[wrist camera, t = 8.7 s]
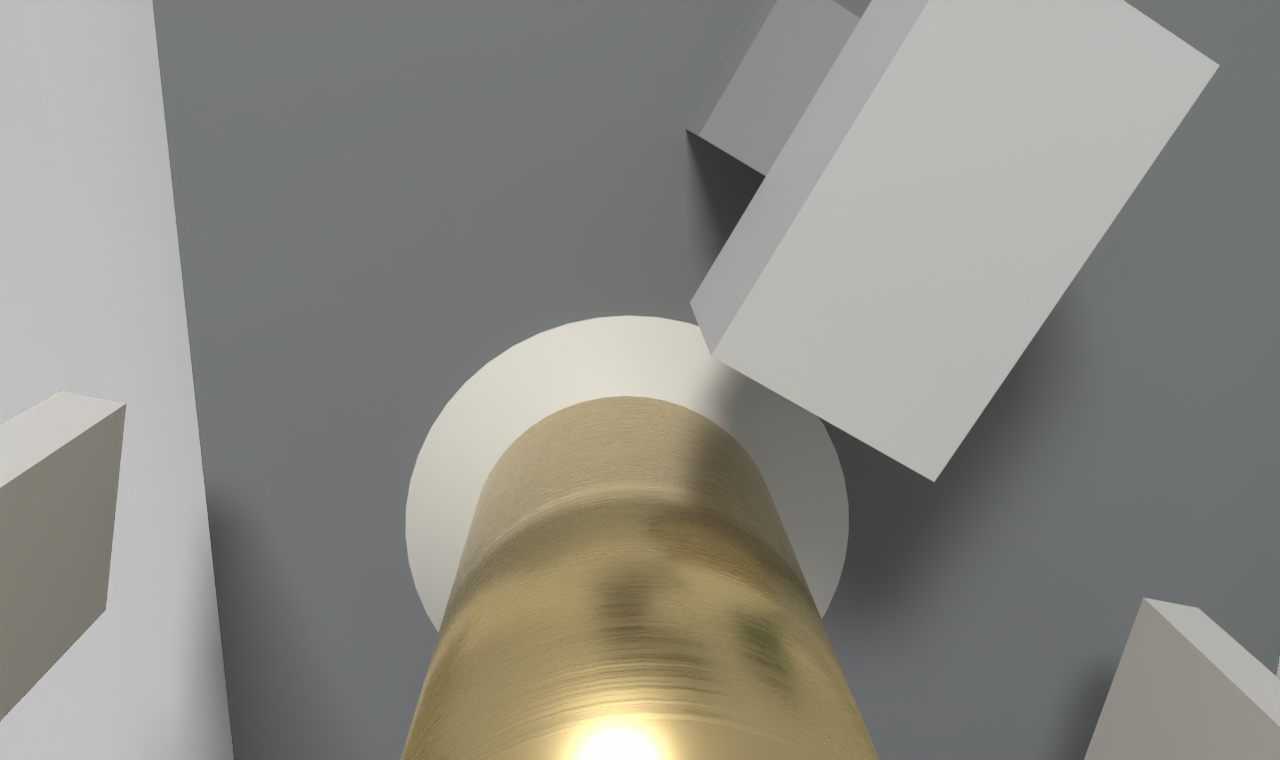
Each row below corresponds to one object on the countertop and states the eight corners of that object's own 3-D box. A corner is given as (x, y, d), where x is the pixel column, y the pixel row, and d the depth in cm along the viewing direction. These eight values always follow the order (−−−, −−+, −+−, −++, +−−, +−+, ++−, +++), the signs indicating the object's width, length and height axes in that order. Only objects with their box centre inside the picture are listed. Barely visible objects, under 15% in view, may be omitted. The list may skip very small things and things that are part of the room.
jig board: (175, -55, 14) (-80, -137, 9) (1352, -44, 15) (1777, -117, 10) (276, 944, 19) (143, 1295, 13) (1192, 923, 19) (1424, 1252, 14)
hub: (653, 333, 15) (717, 646, 7) (835, 564, 16) (1091, 1088, 8) (408, 518, 15) (186, 1020, 7) (599, 730, 16) (597, 1384, 8)
